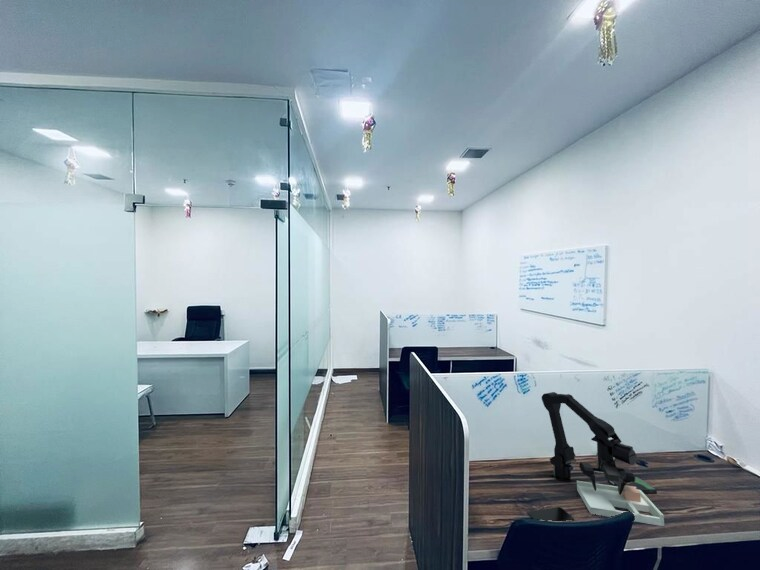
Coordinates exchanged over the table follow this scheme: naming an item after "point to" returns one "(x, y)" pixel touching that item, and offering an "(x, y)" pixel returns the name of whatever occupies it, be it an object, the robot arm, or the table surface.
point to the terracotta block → (631, 493)
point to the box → (617, 503)
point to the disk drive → (638, 486)
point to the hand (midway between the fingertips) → (607, 492)
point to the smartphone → (550, 514)
